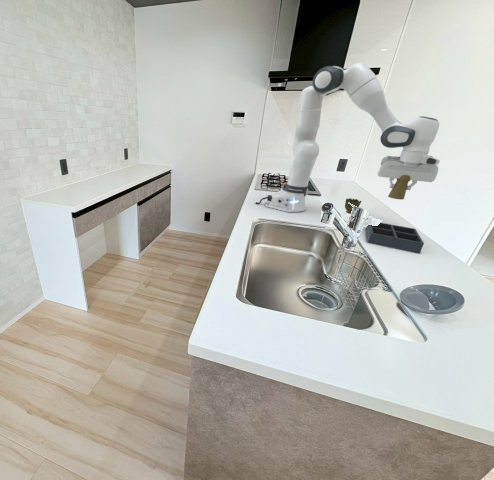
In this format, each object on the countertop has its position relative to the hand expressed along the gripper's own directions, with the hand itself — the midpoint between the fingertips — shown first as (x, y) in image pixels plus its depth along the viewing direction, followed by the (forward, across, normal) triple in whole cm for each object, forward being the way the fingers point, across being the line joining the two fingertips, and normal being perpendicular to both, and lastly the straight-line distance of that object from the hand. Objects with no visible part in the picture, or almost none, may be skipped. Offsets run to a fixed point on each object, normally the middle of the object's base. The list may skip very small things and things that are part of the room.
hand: (399, 188), depth 119 cm
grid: (+21, +2, -12) cm, 24 cm away
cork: (+4, 0, 0) cm, 4 cm away
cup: (+21, -14, +20) cm, 32 cm away
